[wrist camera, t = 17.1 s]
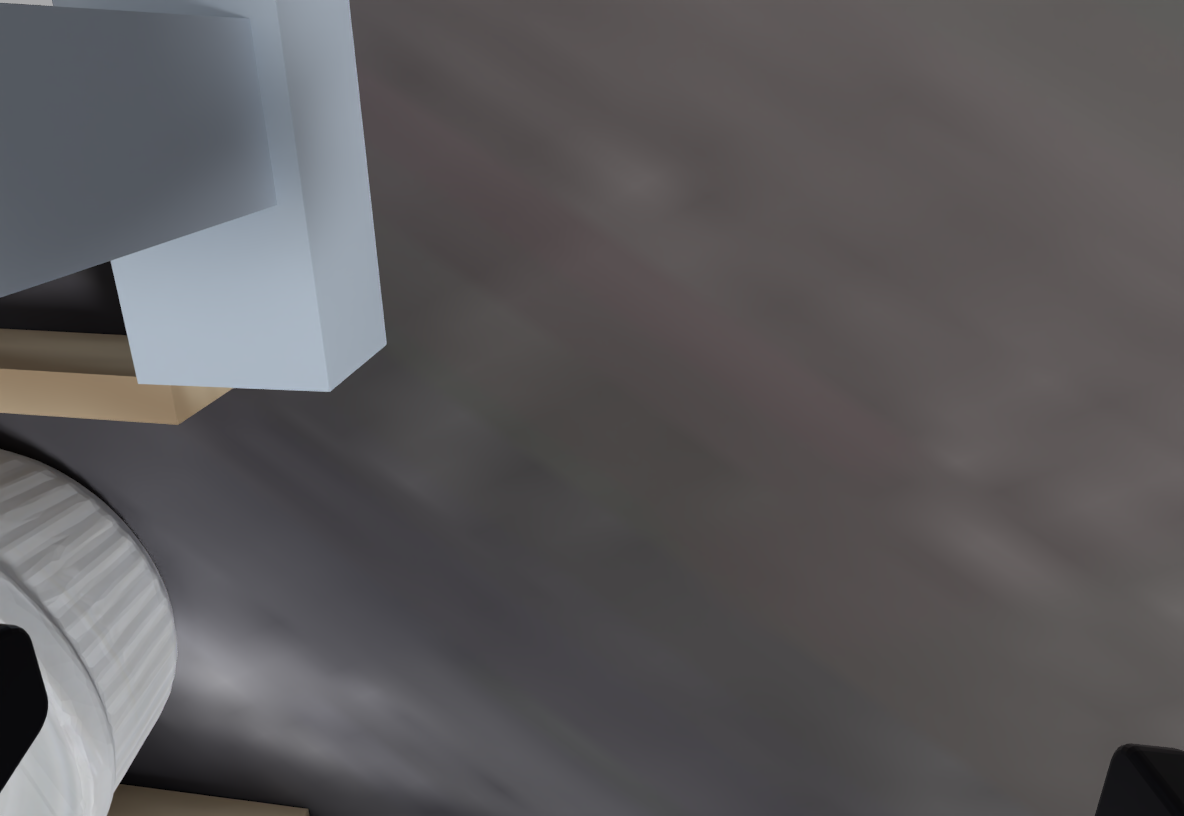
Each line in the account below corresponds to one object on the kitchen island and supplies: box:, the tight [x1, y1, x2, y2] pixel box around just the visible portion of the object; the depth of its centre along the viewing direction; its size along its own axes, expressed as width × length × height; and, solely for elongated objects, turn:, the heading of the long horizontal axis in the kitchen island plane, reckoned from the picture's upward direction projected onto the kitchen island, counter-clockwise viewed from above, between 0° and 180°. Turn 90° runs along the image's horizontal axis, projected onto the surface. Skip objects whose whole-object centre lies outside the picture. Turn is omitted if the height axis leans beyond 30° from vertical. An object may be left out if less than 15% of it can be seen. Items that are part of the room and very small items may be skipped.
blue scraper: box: [0, 0, 387, 392], centre depth 13 cm, size 4×10×11 cm, turn 1°
